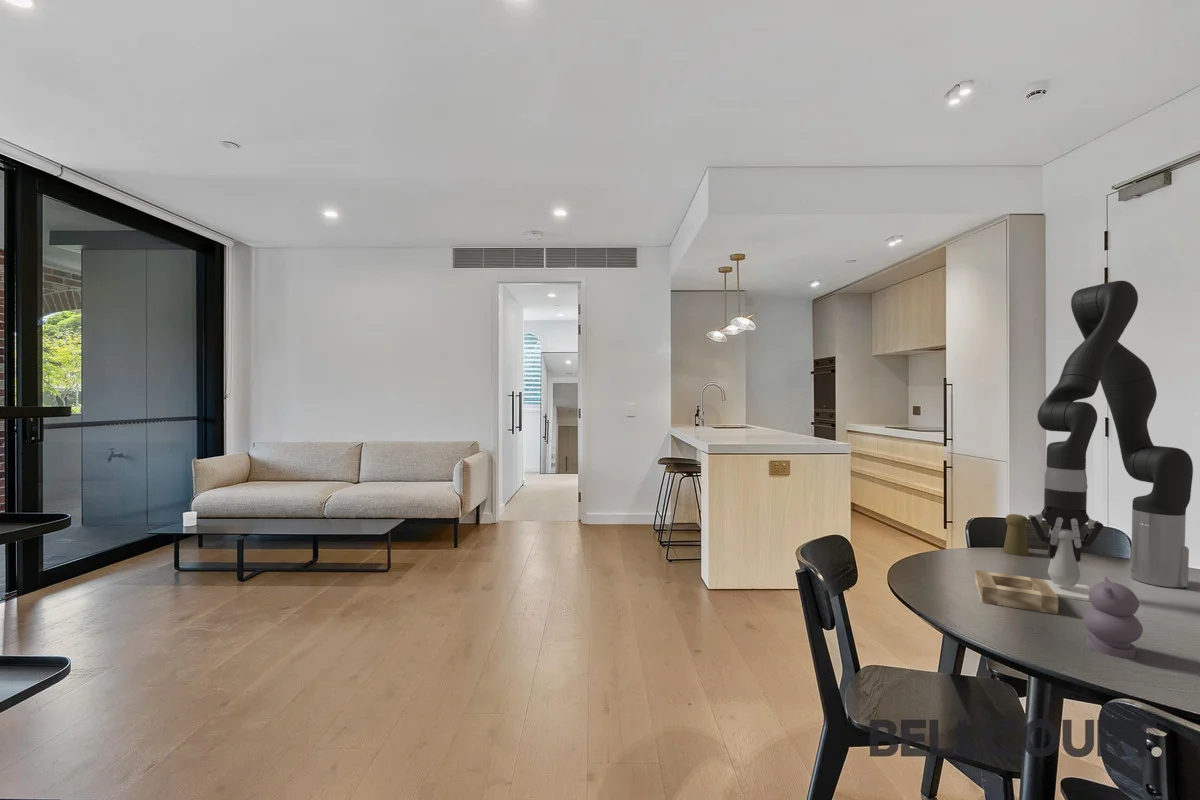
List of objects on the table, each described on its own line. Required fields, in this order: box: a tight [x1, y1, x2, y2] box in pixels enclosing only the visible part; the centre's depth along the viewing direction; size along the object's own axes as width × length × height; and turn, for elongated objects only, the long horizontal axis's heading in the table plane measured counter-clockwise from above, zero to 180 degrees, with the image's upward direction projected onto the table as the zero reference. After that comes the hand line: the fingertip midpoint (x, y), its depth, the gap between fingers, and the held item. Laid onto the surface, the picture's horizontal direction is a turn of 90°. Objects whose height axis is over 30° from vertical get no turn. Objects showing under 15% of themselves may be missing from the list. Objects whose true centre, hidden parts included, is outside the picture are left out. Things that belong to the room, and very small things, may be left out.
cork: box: [1002, 513, 1030, 557], centre depth 160 cm, size 6×6×11 cm
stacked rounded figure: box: [1082, 576, 1144, 659], centre depth 99 cm, size 8×8×12 cm
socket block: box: [974, 569, 1059, 615], centre depth 124 cm, size 13×13×4 cm
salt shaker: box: [1047, 529, 1081, 587], centre depth 129 cm, size 6×6×13 cm
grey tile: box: [1044, 579, 1091, 602], centre depth 129 cm, size 11×11×1 cm
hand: (1063, 561), depth 129 cm, fingers closed on salt shaker, 3 cm apart
